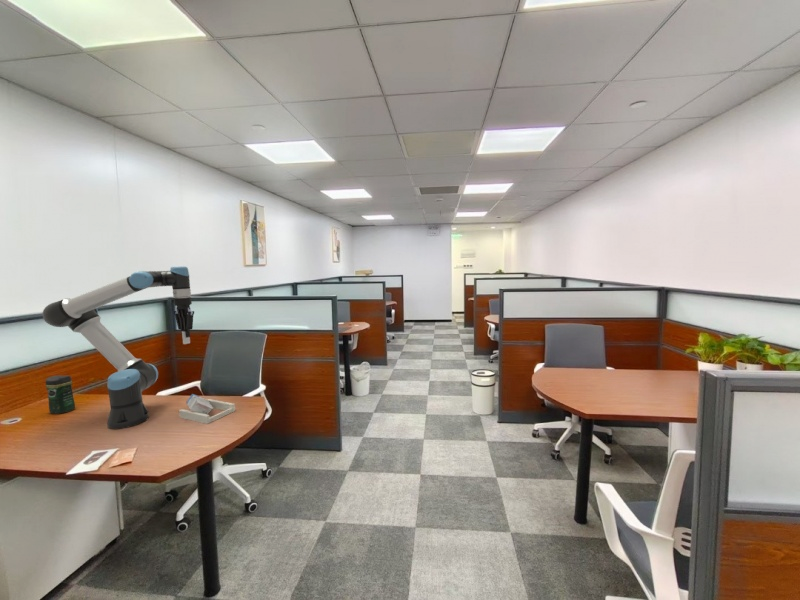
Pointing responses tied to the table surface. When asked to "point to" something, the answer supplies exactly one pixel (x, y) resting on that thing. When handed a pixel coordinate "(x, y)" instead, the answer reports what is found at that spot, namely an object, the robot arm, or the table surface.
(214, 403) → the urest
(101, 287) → the robot arm
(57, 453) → the table surface
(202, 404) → the ink box
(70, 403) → the coffee jar
